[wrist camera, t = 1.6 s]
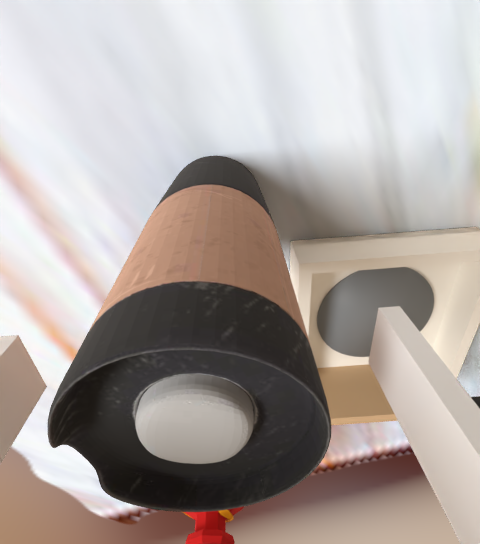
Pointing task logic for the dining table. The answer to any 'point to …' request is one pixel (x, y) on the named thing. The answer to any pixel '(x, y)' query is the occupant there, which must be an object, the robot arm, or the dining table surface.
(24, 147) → the dining table surface
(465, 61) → the dining table surface
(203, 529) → the potion bottle
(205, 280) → the travel mug
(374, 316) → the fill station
